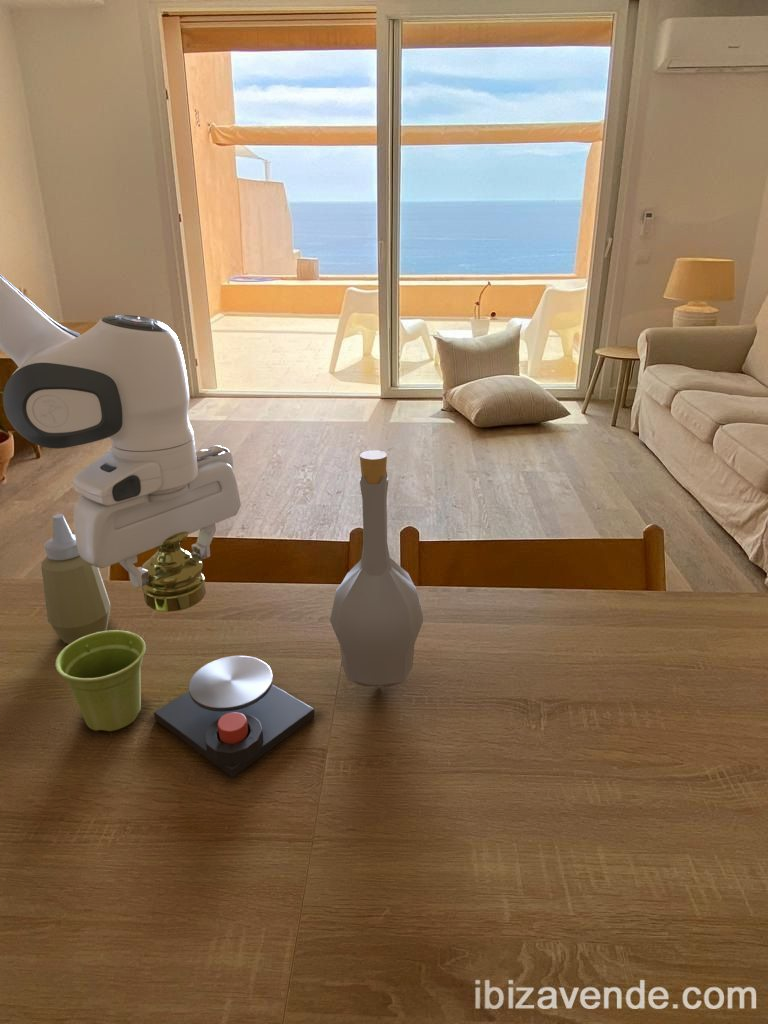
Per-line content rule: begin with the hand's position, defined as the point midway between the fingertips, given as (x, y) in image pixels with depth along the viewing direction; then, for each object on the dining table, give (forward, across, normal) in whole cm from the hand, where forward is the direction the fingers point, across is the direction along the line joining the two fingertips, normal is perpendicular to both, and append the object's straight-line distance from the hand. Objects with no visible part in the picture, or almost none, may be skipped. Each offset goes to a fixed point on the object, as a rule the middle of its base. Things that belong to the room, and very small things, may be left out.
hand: (171, 570), depth 84 cm
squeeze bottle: (+14, +5, -17) cm, 22 cm away
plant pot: (+14, +11, +2) cm, 18 cm away
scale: (+14, +3, +13) cm, 19 cm away
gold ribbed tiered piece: (+4, 0, 0) cm, 4 cm away
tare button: (+11, +6, +18) cm, 22 cm away
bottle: (+14, -12, +22) cm, 29 cm away
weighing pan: (+11, +1, +11) cm, 16 cm away
